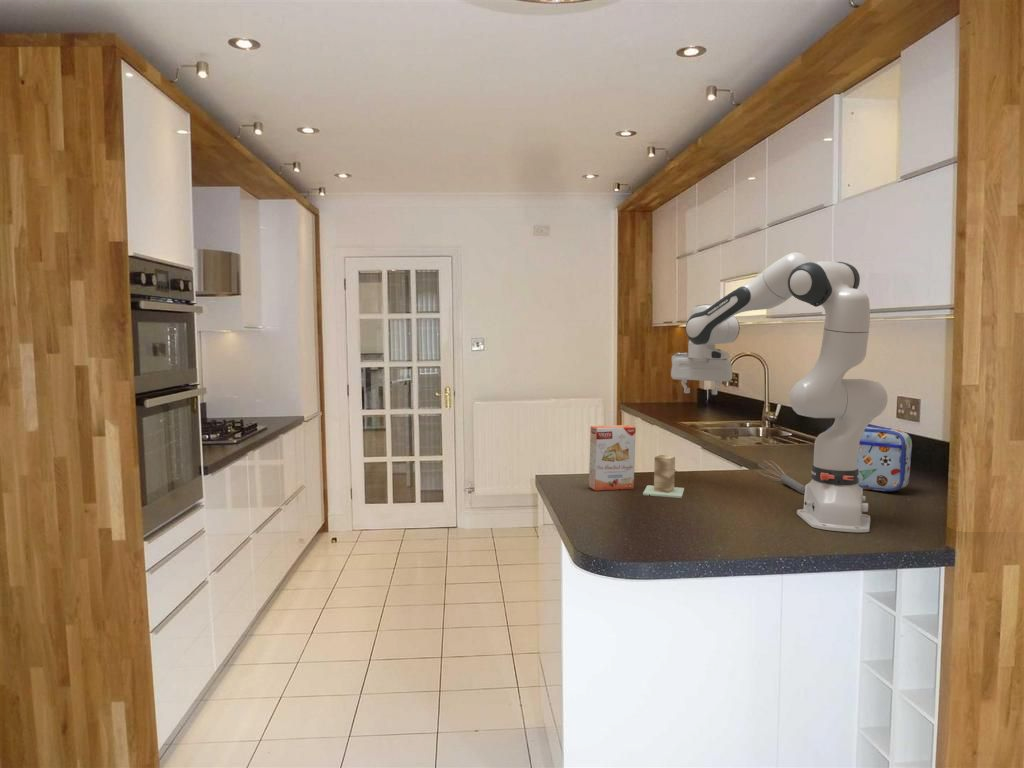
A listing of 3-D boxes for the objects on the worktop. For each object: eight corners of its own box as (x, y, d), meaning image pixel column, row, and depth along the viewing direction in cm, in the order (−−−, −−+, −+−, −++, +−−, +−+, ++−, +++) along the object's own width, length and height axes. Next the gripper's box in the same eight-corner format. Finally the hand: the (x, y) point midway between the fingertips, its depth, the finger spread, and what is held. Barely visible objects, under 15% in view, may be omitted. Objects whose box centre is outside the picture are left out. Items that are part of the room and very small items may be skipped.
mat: (681, 498, 213) (681, 496, 213) (642, 495, 216) (642, 493, 216) (684, 489, 224) (684, 487, 224) (647, 487, 228) (647, 485, 228)
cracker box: (595, 491, 221) (596, 427, 219) (588, 487, 227) (589, 425, 225) (634, 489, 224) (636, 426, 223) (627, 485, 230) (628, 424, 229)
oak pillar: (674, 490, 221) (675, 456, 220) (668, 493, 217) (669, 458, 216) (659, 488, 224) (660, 455, 223) (653, 490, 220) (654, 457, 219)
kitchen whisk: (800, 497, 216) (800, 477, 216) (754, 475, 250) (754, 458, 249) (818, 497, 217) (819, 477, 216) (770, 475, 250) (770, 458, 250)
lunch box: (814, 482, 236) (817, 419, 235) (827, 478, 243) (829, 417, 242) (902, 496, 216) (905, 428, 215) (912, 491, 223) (916, 425, 222)
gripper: (668, 352, 233) (667, 392, 234) (729, 353, 222) (727, 396, 223) (674, 352, 238) (673, 391, 239) (734, 353, 227) (733, 394, 228)
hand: (700, 393), depth 231 cm, fingers open, 8 cm apart
